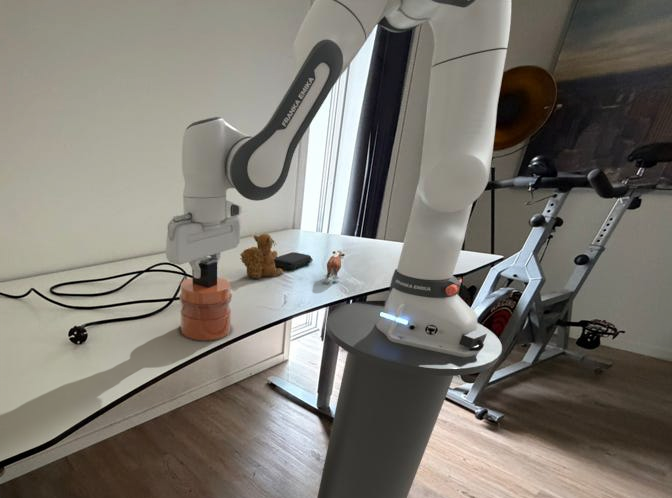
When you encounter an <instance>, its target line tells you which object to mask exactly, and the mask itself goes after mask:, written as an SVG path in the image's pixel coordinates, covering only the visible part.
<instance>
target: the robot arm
mask: <svg viewBox="0 0 672 498" xmlns="http://www.w3.org/2000/svg"><path fill="white" fill-rule="evenodd" d="M427 21H428V23H429V25H430V27H431V30H432V35H433V45H434V48H433V52H432V57H431V58H432V59H431V67H430V74H429V75H430V77H429V86H428V95H427V105H426V113H425V122H424V123H425V124H424V131H423V132H424V133H423V141H422V142H423V143H422V152H421V161H420V171H419V178H418V183H417V187H416V189H415V190H416V191H415V194H414V195H415V196H414V198H413V203H412V206H411V211H410V215H409V219H408V223H407V227H406V230H405V231H406V232H405V236H404V240H403V242H402V247H401V251H400V256H399V259H398V263H397V267H396V268H395V269H394V272H393V274H392V276H391V280H390V283H389V284H390V285H389V295H388V298H387V300H386V301H387V303H386V305H385V307H384V309H383V312H381V314H380V317H379V319H378V320H377V322H376V327H377V328H378V329H379V330H380V331H381V332H382V333H384V334H385V335H386V336H387V338H388V339H389V340H390V341H392V342H395V343H400V344H404V345H409V346H413V347H418V348H423V349H427V350H432V351H437V352H441V353H446V354H450V355H455V356H460V357H469V356H473V355H475V354H477V353H478V352H480V350H481V349H482V348H483V346H484V341H485V338H486V335H487V333H484V332H481V331H478V330H476V329H477V323H478V316H477V313H476V311H474V309H472V307H470V306H469V305H468V303H466V302H465V300H464V299H462V297H460V295H459V294H458V293H459V291H460V288H461V284H462V282H463V279H462V278H460V279H459V280H458V278H457V277H456V276H454V272H455V268H456V265H457V263H458V260H459V257H460V254H461V251H462V248H463V244H464V241H465V237H466V232H467V229H468V224H469V219H470V215H471V212H472V209H473V208H472V207H473V204H474V203H475V202H476V201H477V199H479V197H480V196H481V195H482V194H483V192H484V191H485V189H486V187H487V185H488V184H489V180H490V173H491V167H492V159H493V152H494V144H495V143H494V142H495V136H496V125H497V115H498V104H499V98H500V92H501V87H502V80H503V76H504V70H505V64H506V59H507V52H508V46H509V40H510V31H511V23H512V0H314V2H313V3H312V5H311V6H310V8H309V10H308V11H307V13H306V15H305V17H304V19H303V21H302V22H301V25H300V28H299V30H298V32H297V34H296V37H295V39H294V42H293V43H292V59H293V64H294V73H293V75H292V78H291V81H290V82H289V85H288V87H287V88H286V90H285V91H284V93H283V95H282V97H281V99H280V101H279V102H278V104H277V106H276V107H275V109H274V111H273V112H272V113H271V115H270V117H269V119H268V121H267V123H266V124H265V126H263V128H262V129H261V130H260V131H258V133H257V134H255V135H254V136H251V135H250V134H247V133H244V132H242V131H240V130H239V129H237V128H235V127H234V126H232V125H231V124H230V123H228V122H227V121H225V119H224V118H223V117H220V116H214V117H208V118H205V119H201V120H197V121H194V122H192V123H191V124H189V125H188V126H187V127H186V128H185V130H184V132H183V136H182V144H181V170H182V171H181V173H182V176H183V181H184V187H183V193H182V202H183V214H181V215H174V216H172V219H170V221H169V222H168V224H167V228H166V229H167V232H166V243H165V257H166V260H167V261H168V262H169V263H170V264H174V265H178V266H180V265H183V264H187V263H188V265H190V267H191V270H192V269H193V276H194V278H197V279H198V278H201V277H203V270H202V269H200V267H199V263H200V258H204V257H209V258H213V259H217V265H218V264H219V261H220V259H221V253H223V252H226V251H229V250H232V249H233V250H234V249H237V248H238V247H239V244H240V242H241V233H242V232H241V230H242V225H241V218H240V216H241V214H242V205H241V204H238V203H236V202H233V201H230V200H227V191H228V190H230V189H234V190H236V191H237V192H238V194H239V195H240V196H242V197H243V198H245V199H247V200H250V201H256V202H257V201H264V200H267V199H269V198H272V197H273V196H274V195H276V194H277V193H278V192H279V191H280V190H281V189H282V188H283V186H284V184H285V183H286V180H287V178H288V177H289V172H290V169H291V165H292V161H293V157H294V154H295V153H296V150H297V147H298V145H299V143H300V141H302V138H303V137H304V135H305V133H306V132H307V130H308V128H309V127H310V125H311V124H312V122H313V120H314V119H315V117H316V116H317V114H318V112H319V111H320V109H321V107H322V106H323V104H324V102H325V101H326V99H327V97H328V95H329V94H330V93H331V91H332V89H333V87H334V86H335V85H336V84H337V82H338V80H339V79H340V78H341V76H342V75H343V74H344V73H345V72H346V70H347V69H348V67H349V66H350V65H351V63H352V62H353V60H354V59H355V58H356V56H357V55H358V53H359V52H360V51H361V49H362V48H363V46H364V45H365V43H366V42H367V40H368V39H369V37H370V36H371V34H372V32H373V31H374V29H375V28H376V26H377V25H378V26H380V27H382V28H383V29H384V30H386V31H388V32H391V33H405V32H408V31H411V30H414V29H415V28H417V27H419V26H420V25H421V24H424V23H426V22H427Z"/></svg>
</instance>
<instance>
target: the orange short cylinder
mask: <svg viewBox="0 0 672 498" xmlns="http://www.w3.org/2000/svg"><path fill="white" fill-rule="evenodd" d="M178 296H179V299H178V300H179V302H180V303H181V309H180V312H179V313H180V329H181V333H182V335H183V336H185V337H186V338H188V339H191V340H195V341H214V340H219V339H222V338H225V337H227V336H228V335H229V334H230V332H231V326H232V325H231V324H232V316H231V315H232V310H231V308H230V303H231V302H232V299H233V294H232V293H231V282H230V281H229V280H227V279H226V278H222V277H218V276H217V285H215V286H212V287H210V288H207V287H204V286H200V285H197V284H194V283H193V278H192V277H190V278H187V279H185V280H183V281H182V282H181V283H180V293H179V295H178Z"/></svg>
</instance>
